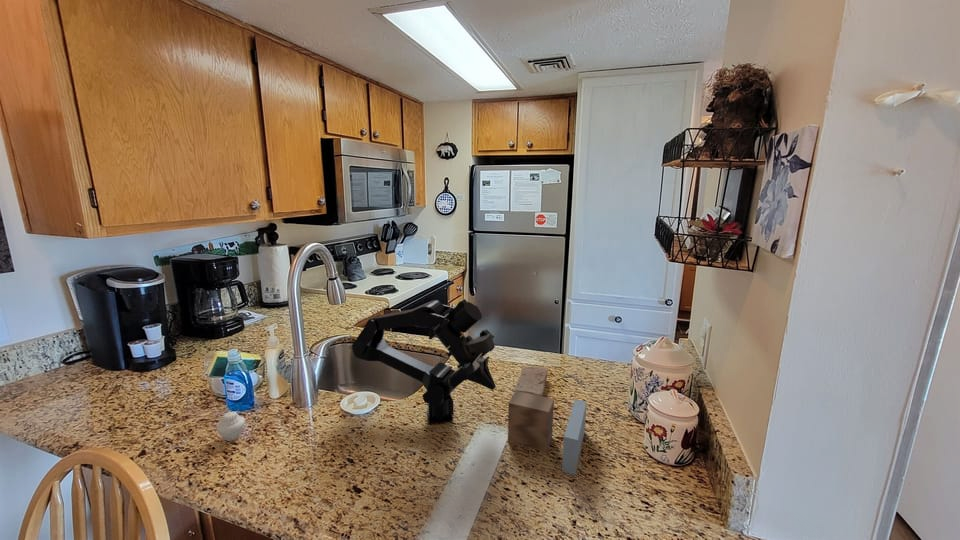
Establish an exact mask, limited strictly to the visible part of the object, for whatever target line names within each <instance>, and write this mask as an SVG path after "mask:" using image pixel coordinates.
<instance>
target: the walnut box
mask: <svg viewBox="0 0 960 540" xmlns="http://www.w3.org/2000/svg"><path fill="white" fill-rule="evenodd" d="M554 406H555V398H551V397H546V396H543V397H542V396H538V395H533V394H528V393H523V392H519V391H515V390H514V393H513V394H512V397H511V398H510V400H509V401H508V412H507V413H508V415H507V416H508V417H507V419H508V420H507V425H508V426H507V443H510V442H511V444H515V445H518V446H521V447H525V446H526V447H525V448H529V447H530V448H531V449H534V450H537V451H540V450H541V452H543V453H544V452H546V453H548V450H549V447H550V445H551V441H552V439H553V430H554V429H553V427H554V426H553V425H554V411H555V410H554V408H555V407H554Z"/></svg>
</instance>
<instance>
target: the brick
mask: <svg viewBox="0 0 960 540" xmlns="http://www.w3.org/2000/svg"><path fill="white" fill-rule="evenodd" d="M548 370H549V369H547V368H546V367H542V366H541V367H539V366H529V365H528V366H526V365H523V366H522V368H521V372H520V375H519V378H518V380H517V382H516V384H515V388H514V392H515V391H519V392H523V393H528V394H533V395H538V396H542V397H544V392H545V388H546V385H547V379H548Z"/></svg>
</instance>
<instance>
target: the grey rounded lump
mask: <svg viewBox="0 0 960 540" xmlns="http://www.w3.org/2000/svg"><path fill="white" fill-rule="evenodd" d="M245 425H246V419H245V417H243V416H241V415H239V414H238V413H237V412H236V411H229V412H227V413H225V414H224V415H222V417H221V419H220V422H219V423H218V424H217V426H216V432H217V433H218V435H219V436H220V437H222V438H223V439H224V440H225V441H226V442H231V441H235V440H237V439H239V438H240V437H241V434H242V433H243V431H244V428H245Z"/></svg>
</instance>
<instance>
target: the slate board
mask: <svg viewBox="0 0 960 540" xmlns="http://www.w3.org/2000/svg"><path fill="white" fill-rule="evenodd" d="M573 400H574V401H573V404H572V409H571V410H570V414H569V419H568V421H567V425H566V429H565V432H564V436H563V446H562V447H563V448H562V462H561V472H563V473H565V474H570V475H574V476H576V474H577V470H578V465H579V460H580V456H581V451H582V446H583V442H584V437H585V431H586V417H587V416H586V414H587V404H588V402H587V401H585V400H579V399H573Z"/></svg>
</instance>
